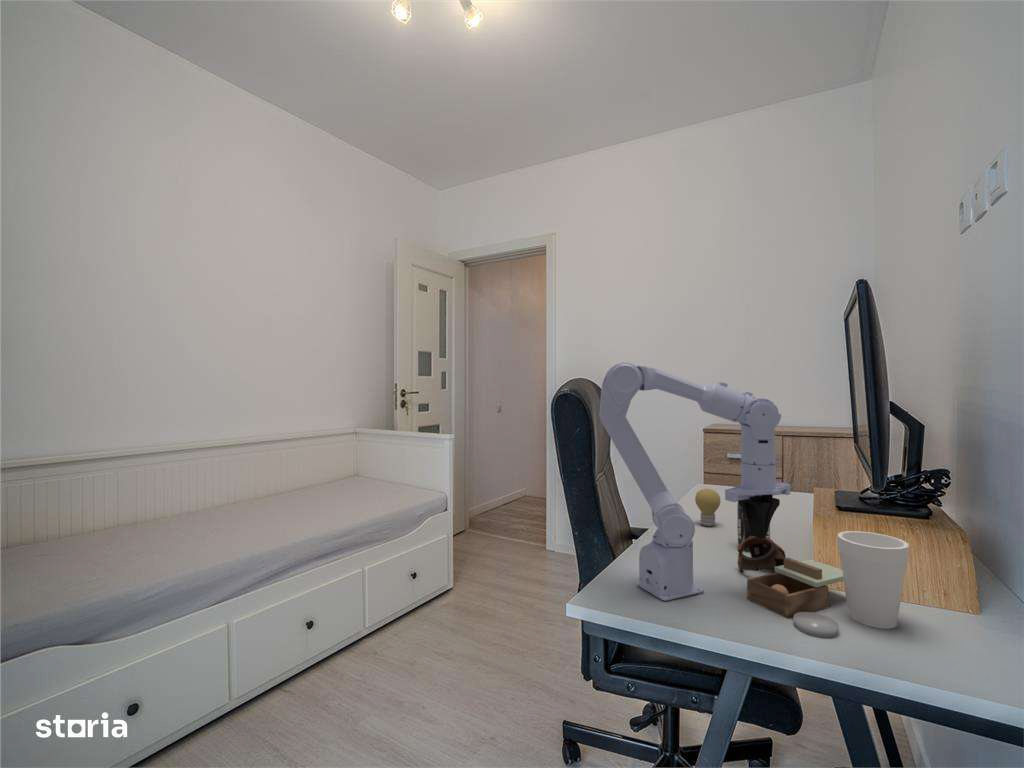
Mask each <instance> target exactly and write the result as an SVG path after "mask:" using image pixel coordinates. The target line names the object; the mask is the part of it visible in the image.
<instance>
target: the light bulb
mask: <svg viewBox="0 0 1024 768" xmlns="http://www.w3.org/2000/svg"><path fill="white" fill-rule="evenodd" d="M694 498H695V504H696V506H697V508H698V509H699V510H700V524H701V525H702V526H704V527H713V526H715V525H716V514H715V513H716V511H717V510H718V509H719V508H720V505H721V496H720V494H719V493H718V492H717V491H716V490H714V489H711V488H702V489H700V490H698V491H697V492H696V494H695V497H694Z"/></svg>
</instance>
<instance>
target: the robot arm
mask: <svg viewBox="0 0 1024 768" xmlns="http://www.w3.org/2000/svg"><path fill="white" fill-rule="evenodd" d="M600 386H601V388H600V389H601V390H600V402H599V404H600V405H599V412H598V414H599V415H598V416H599V420H600V422H601V423H602V426H603V427H604V429H605V430H606V432H607V435H608V436H609V437H610V439H611V441H612V443H613V445H614V446H615V448H616V450H617V452H618V453H619V455H620V457H621V458H622V460H623V462H624V464H625V465H626V467H627V469H628V471H629V472H630V474H631V476H632V478H633V479H634V481H635V483H636V485H637V486H638V488H639V490H640V492H641V493H642V495H643V497H644V499H645V500H646V502H647V504H648V505H649V507H650V509H651V513H652V514H651V515H652V517H651V518H652V519H651V520H652V522H653V524H654V525H655V527H656V529H657V530H655V532H654V533H653V535H652V540H651V542H649V543H648V544H645V545H643V546H642V547H641V549H640V551H639V555H638V556H639V557H638V558H639V561H638V562H639V563H638V564H639V566H638V567H639V571H638V573H639V578H638V579H639V581H638V582H636V585H637V586H638V587H640V588H642V589H643V590H645V591H646V592H649V593H650V594H651V595H653V596H655V597H657V598H658V599H660V600H661V601H665V602H667V601H671V600H674V599H679V598H684V597H688V596H693V595H697V594H701V593H705V592H704V591H705V590H704V588H702V587H700V586H698V585H697V584H694V540H693V539H694V535H695V533H696V526H695V523H694V521H693V519H692V518H691V516H689V514H687V513H686V512H685V510H684V508H683V507H682V506H681V504H679V503H678V502H676V500H675V498H673V496H672V494H671V493H670V491H669V490H668V488H667V486H666V484H665V483H664V481H663V479H662V478H661V475H660V474H659V472H658V470H657V468H656V467H655V466H654V463H653V462H652V460H651V459H650V456H649V455H648V453H647V451H646V450H645V447H644V446H643V445H642V443H641V441H640V439H639V437H638V436H637V434H636V432H635V431H634V429H633V427H632V425H631V424H630V422H629V420H628V418H627V413H628V411H629V408H630V404H631V401H632V400H633V398H634V397H635V396H636V395H637V393H638V392H639V391H643V392H644V391H645V392H646V391H652V390H659V391H662V392H666V393H668V394H670V395H675V396H678V397H681V398H683V399H688V400H691V401H694V402H697V405H699V408H700V409H701V411H702V412H704V413H707V414H710V415H713V416H716V417H719V418H722V419H724V420H728V421H731V422H733V423H739V424H740V433H741V434H740V435H741V436H740V481H741V483H740V485H737V486H734V487H731V488H725V489H724V500H725V501H727V502H728V501H729V502H732V503H736V502H737V503H738V502H739V504H740V505H741V507H742V509H743V510H744V512H745V515H746V517H747V520H748V523H749V526H750V530H751V534H752V536H754V537H757V538H761V539H762V538H766V536H767V532H768V529H769V525H770V526H771V521H772V519H773V517H774V514H775V512H776V510H777V509H778V507H780V506H781V505H780V504H781V500H780V499H779V498H776V497H773V496H779V495H785V496H788V495H791V484H790V483H786V482H777V480H776V479H777V478H776V477H777V476H776V475H777V473H776V472H777V471H776V470H777V469H776V463H777V462H776V458H777V457H776V428H777V426H778V425H779V423H780V421H781V419H782V418H781V417H782V414H781V413H780V412H779V409H778V407H777V405H775V403H774V402H773V401H771V400H769V399H766V398H759V397H755V396H754V393H753V392H751V391H748V390H747V391H745V392H743V391H740V390H738V389H734V388H732V387H731V388H730V387H728V383H727V382H724V381H719V382H718V383H716V382H710V383H708V384H707V385H701V384H698V383H695V382H693V381H690V380H688V379H684V378H681V377H679V376H677V375H674V374H671V373H668V372H665V371H663V370H661V369H658V368H653V367H648V366H644V365H635V364H633V363H631V362H624V361H622V362H619V363H616V364H614V365H613V366H611V367H610V368H609V369H608V370H607V372H606V374H605V376H604V378H603V381H602V383H601V385H600Z"/></svg>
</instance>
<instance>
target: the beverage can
mask: <svg viewBox="0 0 1024 768" xmlns="http://www.w3.org/2000/svg"><path fill="white" fill-rule="evenodd" d="M736 506H737V508H736V509H737V511H736V512H737V514H736V515H737V544H738V546H739V545H740V543H741V542H742V541H744V540H745V539H747V538H748V537H749V536H752V534H751V530H750V526H749V523H748V520H747V517H746V515H745V512H744V510H743V509H742V507H741V505H740V504H739V502H737V505H736ZM766 537H768V538H770V539H771V524H770V525H769V529H768V532H767V536H766ZM763 546H765V547H767V545H766V544H763ZM747 547H748V546H747ZM747 547H746V548H744V551H748V552H749V549H748V548H747Z"/></svg>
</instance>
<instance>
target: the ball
mask: <svg viewBox="0 0 1024 768" xmlns="http://www.w3.org/2000/svg"><path fill="white" fill-rule="evenodd" d="M771 588H773V589H776V590H778V591H780V592H783V593H785V594H789V593H788V591H787V589H786V588H785V587H784V586H782V585H779V584H776V585H773V586H772V587H771Z"/></svg>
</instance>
